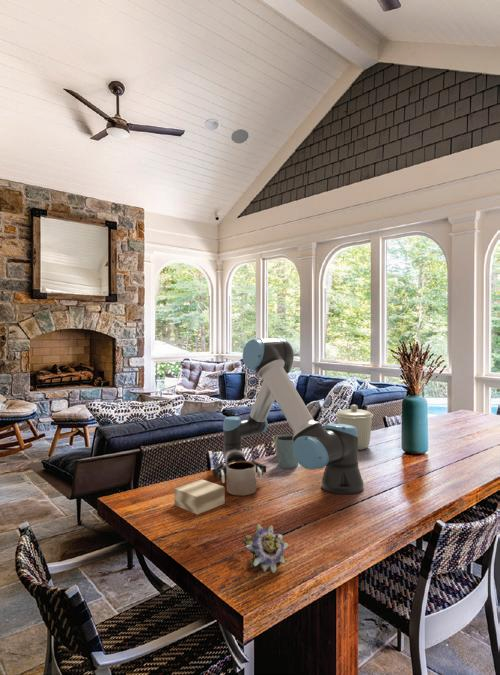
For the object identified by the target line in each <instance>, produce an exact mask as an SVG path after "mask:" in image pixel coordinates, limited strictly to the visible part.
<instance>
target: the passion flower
mask: <svg viewBox="0 0 500 675" xmlns="http://www.w3.org/2000/svg"><path fill="white" fill-rule="evenodd" d="M251 538H252V539H251ZM249 539H251V540H249ZM242 543H243V544H244V546H245V547H244V549H245V550H247V551H249V552H250V553H251V555H252V560H251V561H250V565H251V567H254V568H255V567H257V566H258V565H259V566H260V569H261V570H262V571H263V573H266V572H267V570H269V571H270V573H271V574H275V573H276V571H277V563H280V564H285V563H286V560H285V559H286V558H284V556H285V555H284V553H285V554H286V553H287V552H285V551H284V550H286V549H287V548H288V547H289V543H287V542H285V541H284V540H283V534H278V533H275V531H274V526H273V525H270V526H269V527H268V528H265V527H264V528H263V527H262V526H261V524H259V523H256V528H255V533H254V534H253V535H252V536H251V535H246V536H245V539H244V538H243V539H242Z"/></svg>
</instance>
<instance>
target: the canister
mask: <svg viewBox="0 0 500 675" xmlns="http://www.w3.org/2000/svg"><path fill="white" fill-rule="evenodd" d="M335 416H336V422H337V424H345V425H351V426H354V427H356V429H357V435H358V451H361V450H365V449H367V448H368V447H369V445H370V442H371V441H370V440H371V434H372V423H373V422H372V421H373V420H372V419H373V417H374V414H373V413H372V412H371V411H369V410H365V409H361V408H360V409H359V407H358V405H357V404H351V405H350V406H349V408H348V409H347V408H345V409H341V410H339V411H338V412H336V413H335Z"/></svg>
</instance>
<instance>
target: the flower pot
mask: <svg viewBox="0 0 500 675" xmlns="http://www.w3.org/2000/svg"><path fill="white" fill-rule="evenodd" d="M282 435H283V434H277V435H273V436H272V440H273V442H274V448H275V449H274V450H275V455H276V456H277V457H278V453H277V452H278V451H277V443H276V437H278V436H282Z"/></svg>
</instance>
